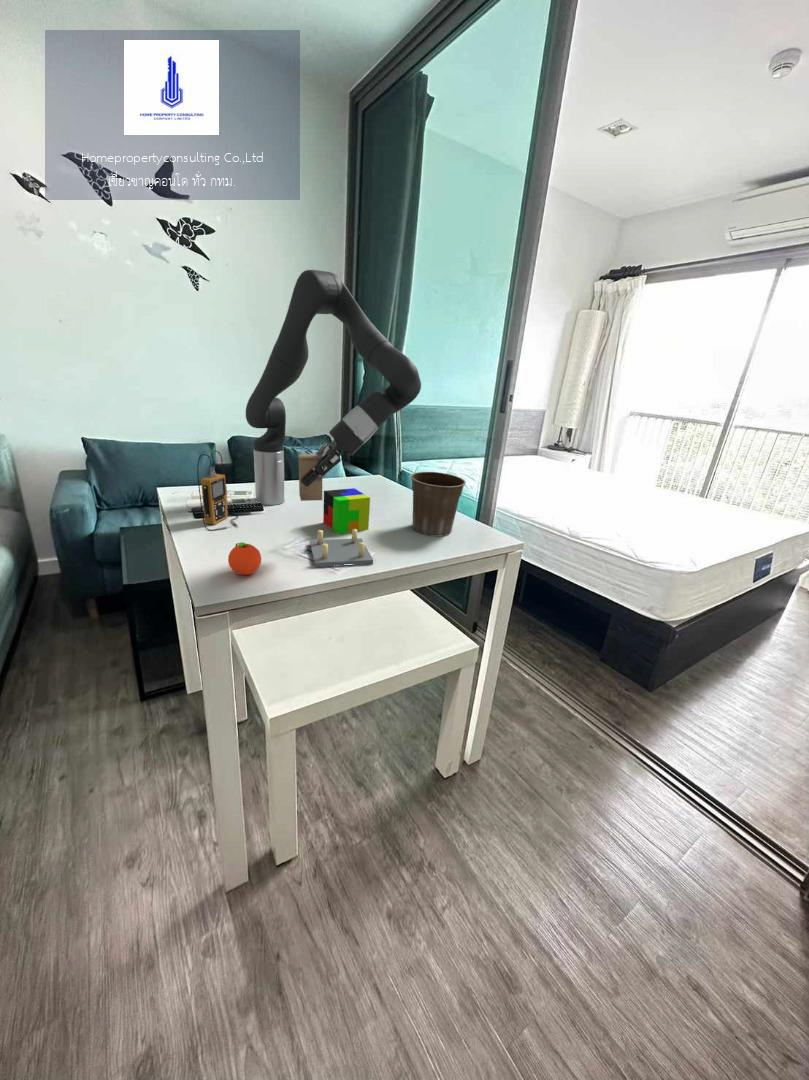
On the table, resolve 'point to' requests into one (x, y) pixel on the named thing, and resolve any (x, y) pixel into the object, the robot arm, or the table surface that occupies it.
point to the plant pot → (435, 501)
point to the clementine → (244, 559)
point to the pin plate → (339, 551)
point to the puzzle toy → (346, 510)
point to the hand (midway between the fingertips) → (302, 480)
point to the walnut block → (315, 487)
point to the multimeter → (214, 497)
